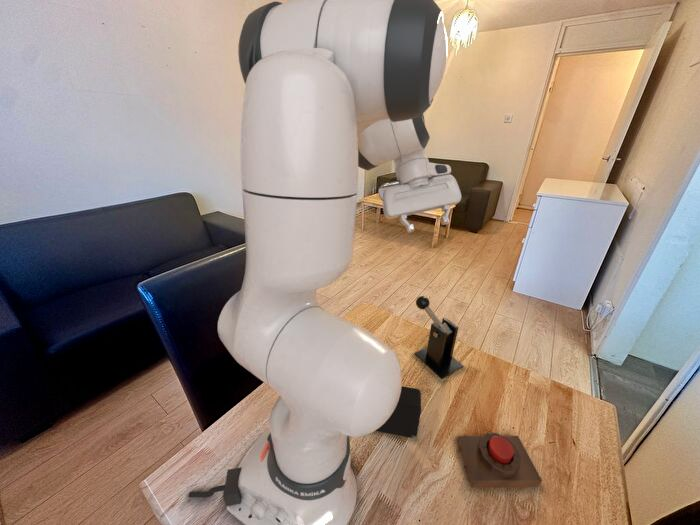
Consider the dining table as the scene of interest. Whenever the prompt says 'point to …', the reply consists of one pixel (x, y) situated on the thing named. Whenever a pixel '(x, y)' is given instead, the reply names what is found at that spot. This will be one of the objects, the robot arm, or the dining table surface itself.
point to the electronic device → (404, 414)
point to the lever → (431, 313)
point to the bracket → (440, 350)
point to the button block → (497, 464)
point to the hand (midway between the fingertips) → (428, 228)
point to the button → (500, 449)
